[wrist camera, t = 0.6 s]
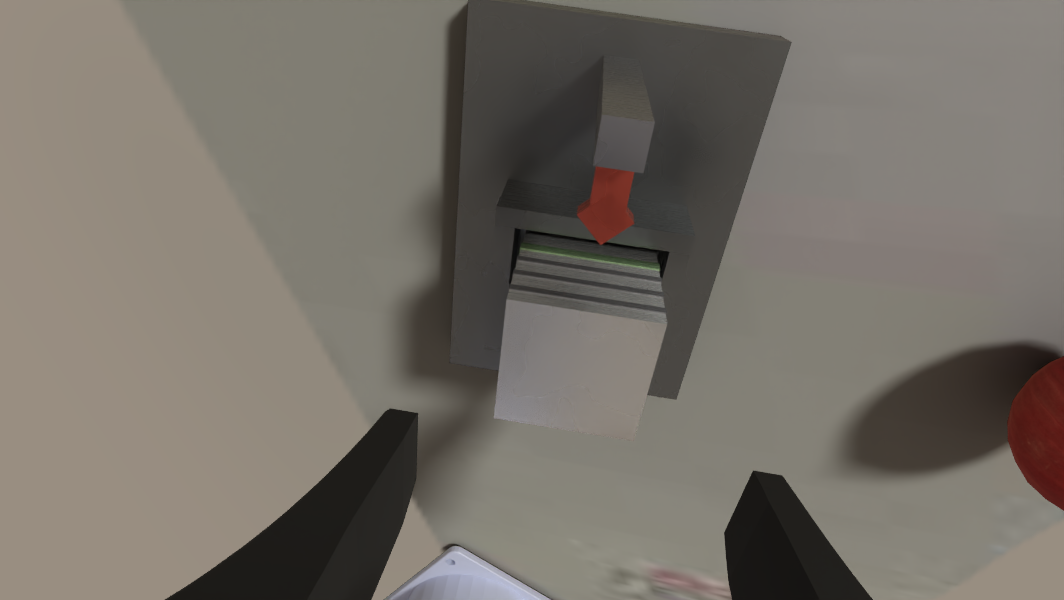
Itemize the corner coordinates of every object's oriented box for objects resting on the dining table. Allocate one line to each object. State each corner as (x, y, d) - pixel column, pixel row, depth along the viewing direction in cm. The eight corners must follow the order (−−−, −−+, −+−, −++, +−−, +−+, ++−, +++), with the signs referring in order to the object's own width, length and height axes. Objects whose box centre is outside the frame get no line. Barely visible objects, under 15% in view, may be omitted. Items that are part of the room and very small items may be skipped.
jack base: (673, 380, 24) (699, 552, 17) (456, 345, 24) (397, 501, 18) (780, 36, 17) (894, 98, 10) (476, -7, 17) (392, 27, 11)
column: (628, 328, 21) (634, 442, 17) (518, 311, 22) (492, 418, 17) (653, 227, 19) (669, 323, 14) (531, 209, 19) (505, 297, 15)
